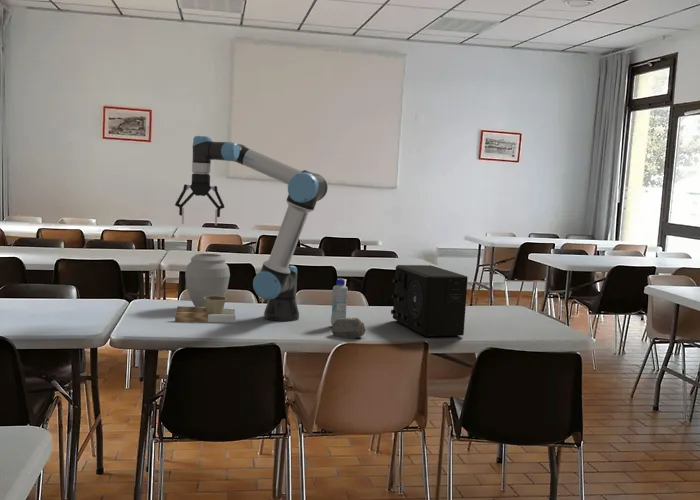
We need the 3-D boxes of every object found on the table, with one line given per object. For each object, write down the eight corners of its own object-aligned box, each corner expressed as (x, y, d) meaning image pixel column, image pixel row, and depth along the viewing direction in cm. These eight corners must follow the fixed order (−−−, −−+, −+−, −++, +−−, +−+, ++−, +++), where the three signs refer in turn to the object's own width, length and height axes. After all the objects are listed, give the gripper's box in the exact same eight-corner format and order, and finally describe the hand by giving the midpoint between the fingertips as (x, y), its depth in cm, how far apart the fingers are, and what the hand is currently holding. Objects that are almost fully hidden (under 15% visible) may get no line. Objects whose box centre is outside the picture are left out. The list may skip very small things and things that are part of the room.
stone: (329, 336, 271) (331, 316, 271) (337, 332, 279) (338, 313, 278) (359, 340, 267) (360, 320, 266) (366, 336, 275) (368, 317, 274)
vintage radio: (385, 319, 311) (388, 263, 308) (425, 319, 317) (429, 264, 314) (420, 339, 275) (424, 276, 273) (464, 338, 282) (468, 276, 279)
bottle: (334, 328, 285) (337, 280, 283) (327, 325, 291) (329, 277, 289) (349, 328, 288) (351, 280, 287) (341, 324, 294) (344, 277, 292)
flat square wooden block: (210, 315, 300) (211, 307, 299) (210, 321, 286) (210, 313, 286) (177, 314, 297) (177, 306, 297) (175, 321, 283) (175, 312, 283)
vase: (184, 313, 300) (185, 257, 298) (183, 305, 319) (185, 252, 317) (230, 313, 305) (232, 258, 303) (227, 305, 324) (229, 253, 321)
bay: (234, 315, 302) (234, 308, 302) (235, 322, 287) (235, 315, 287) (208, 314, 300) (208, 307, 300) (207, 322, 285) (208, 314, 285)
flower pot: (214, 321, 287) (216, 300, 286) (197, 317, 292) (199, 297, 291) (230, 318, 295) (231, 298, 294) (213, 314, 300) (214, 295, 299)
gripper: (231, 175, 299) (229, 224, 301) (170, 171, 294) (169, 222, 296) (231, 175, 291) (229, 226, 294) (169, 171, 287) (168, 223, 289)
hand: (199, 224), depth 295 cm, fingers open, 13 cm apart
